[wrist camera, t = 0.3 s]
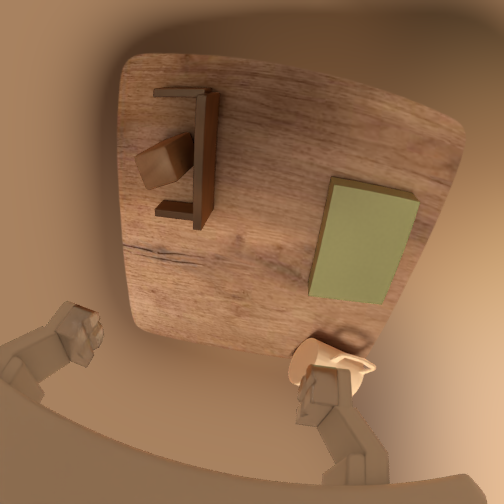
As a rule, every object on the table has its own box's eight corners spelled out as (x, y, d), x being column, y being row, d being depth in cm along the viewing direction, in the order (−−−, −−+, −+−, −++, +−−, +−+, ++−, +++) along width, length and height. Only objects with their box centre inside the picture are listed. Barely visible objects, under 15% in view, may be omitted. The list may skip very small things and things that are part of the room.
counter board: (331, 176, 35) (334, 184, 33) (412, 192, 35) (420, 202, 32) (307, 282, 44) (308, 296, 41) (377, 291, 43) (382, 304, 41)
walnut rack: (163, 87, 32) (141, 90, 27) (220, 88, 31) (206, 90, 26) (163, 206, 40) (145, 227, 35) (213, 212, 40) (201, 234, 35)
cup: (336, 322, 44) (381, 344, 46) (293, 346, 53) (335, 364, 54) (330, 371, 39) (378, 390, 40) (283, 388, 47) (329, 404, 49)
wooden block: (200, 160, 36) (178, 181, 29) (172, 169, 37) (145, 191, 30) (190, 130, 34) (165, 144, 28) (161, 140, 35) (132, 157, 29)
